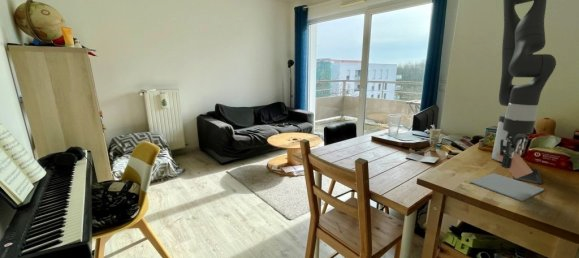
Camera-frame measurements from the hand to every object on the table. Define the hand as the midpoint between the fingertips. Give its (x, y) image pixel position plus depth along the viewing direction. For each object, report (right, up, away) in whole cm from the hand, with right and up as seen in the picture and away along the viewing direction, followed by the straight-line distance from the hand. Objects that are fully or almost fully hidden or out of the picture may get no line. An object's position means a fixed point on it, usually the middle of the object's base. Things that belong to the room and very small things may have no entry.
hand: (509, 166), depth 86 cm
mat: (0, -7, +2) cm, 8 cm away
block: (+2, -3, -3) cm, 5 cm away
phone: (+16, -6, +11) cm, 20 cm away
